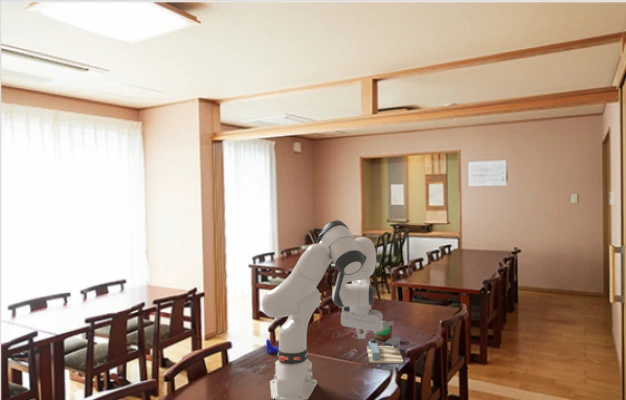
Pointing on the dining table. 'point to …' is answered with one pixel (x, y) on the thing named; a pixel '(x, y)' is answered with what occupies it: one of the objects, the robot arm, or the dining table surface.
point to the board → (386, 354)
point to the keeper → (393, 342)
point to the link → (374, 350)
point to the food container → (384, 332)
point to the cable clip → (270, 347)
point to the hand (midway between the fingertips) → (362, 338)
